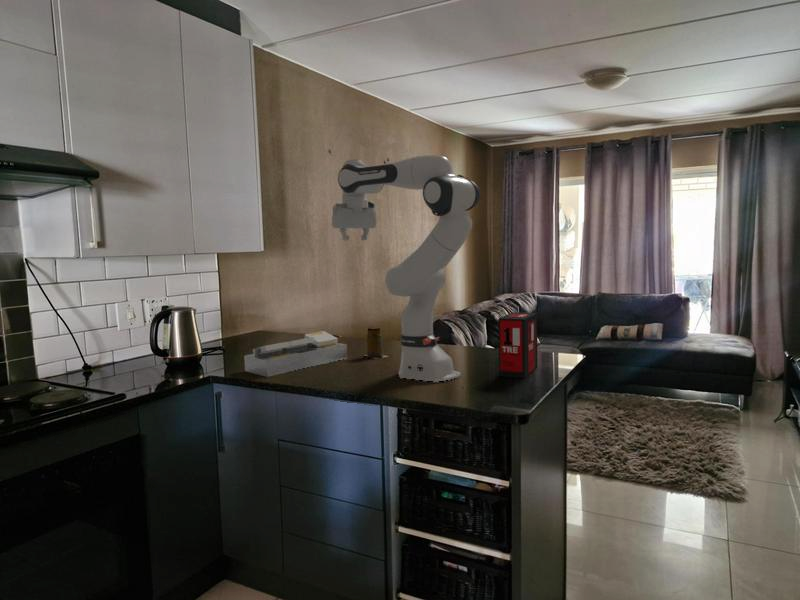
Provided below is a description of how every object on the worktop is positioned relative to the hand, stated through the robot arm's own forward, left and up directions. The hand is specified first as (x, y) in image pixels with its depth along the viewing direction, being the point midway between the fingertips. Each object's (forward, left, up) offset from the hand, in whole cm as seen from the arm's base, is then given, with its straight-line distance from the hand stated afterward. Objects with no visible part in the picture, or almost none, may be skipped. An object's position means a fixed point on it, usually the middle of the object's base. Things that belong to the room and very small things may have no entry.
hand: (355, 240), depth 213 cm
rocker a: (+17, +5, -39) cm, 43 cm away
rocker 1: (+17, +29, -39) cm, 52 cm away
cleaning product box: (-58, -23, -48) cm, 79 cm away
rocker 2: (+17, +17, -39) cm, 46 cm away
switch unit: (+17, +17, -48) cm, 54 cm away
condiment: (+3, -12, -48) cm, 50 cm away
